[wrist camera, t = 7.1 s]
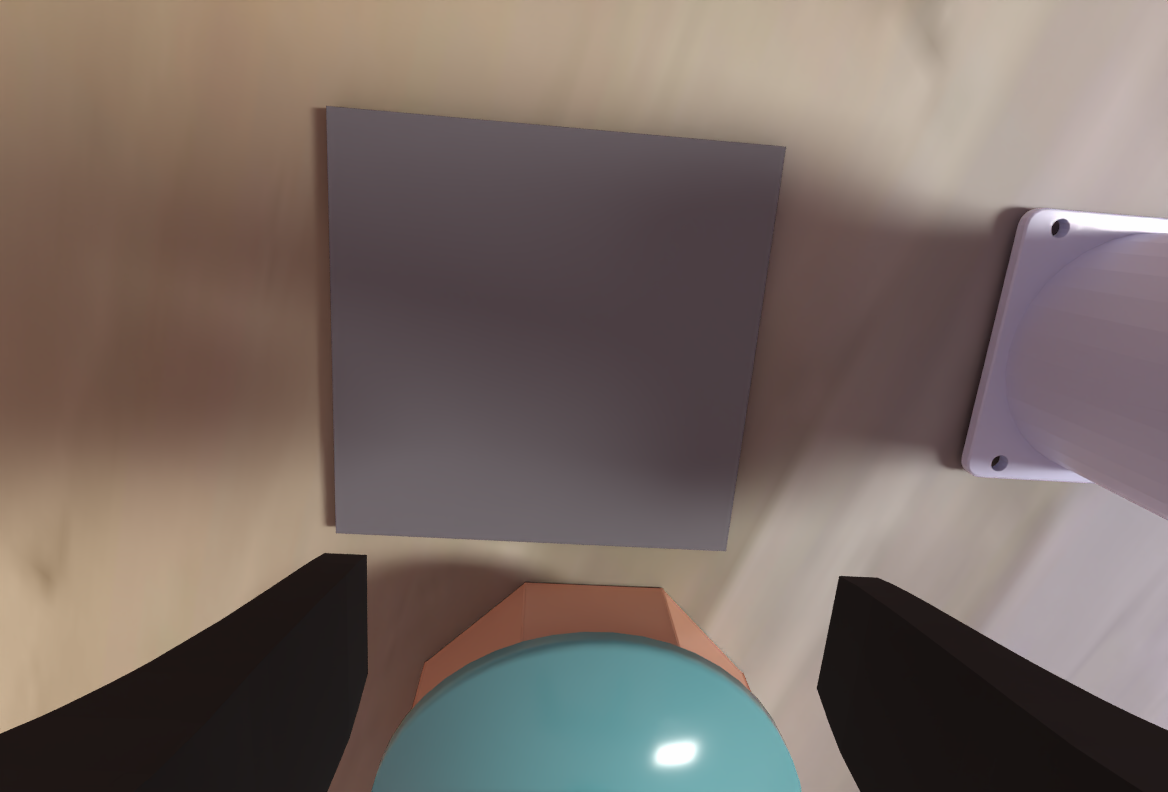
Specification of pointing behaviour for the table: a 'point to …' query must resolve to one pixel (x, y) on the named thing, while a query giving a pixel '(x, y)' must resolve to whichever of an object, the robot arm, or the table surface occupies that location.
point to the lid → (588, 724)
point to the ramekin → (573, 625)
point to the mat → (542, 328)
